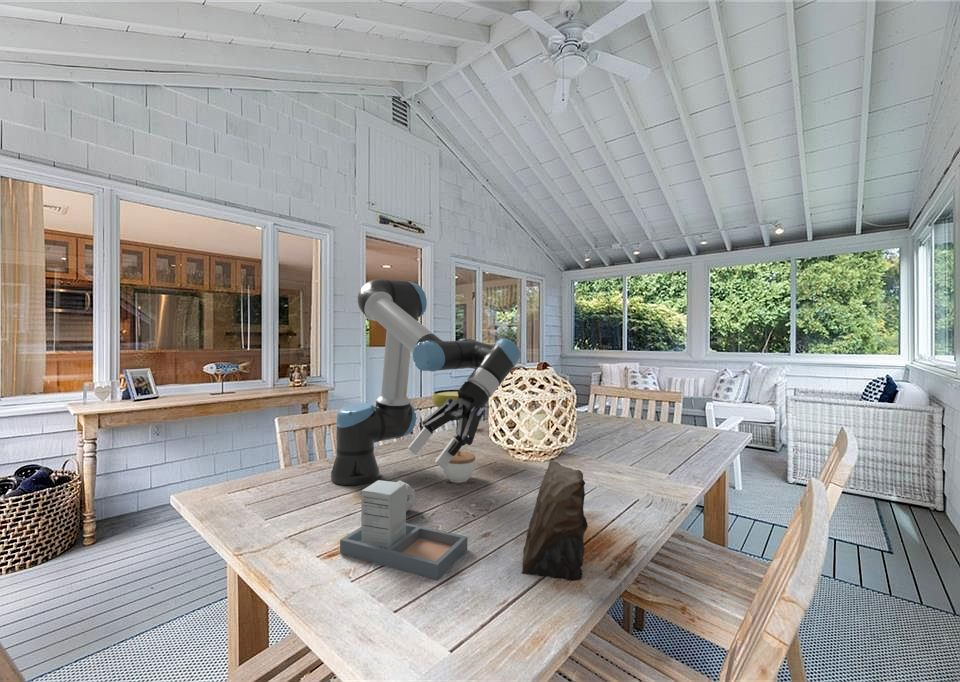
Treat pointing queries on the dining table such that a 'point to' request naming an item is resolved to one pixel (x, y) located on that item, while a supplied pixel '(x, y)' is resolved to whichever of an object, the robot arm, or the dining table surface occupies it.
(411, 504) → the die
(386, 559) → the sorting tray
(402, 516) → the supplement box
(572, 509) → the brown rock
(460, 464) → the lidded jar
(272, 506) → the dining table surface
